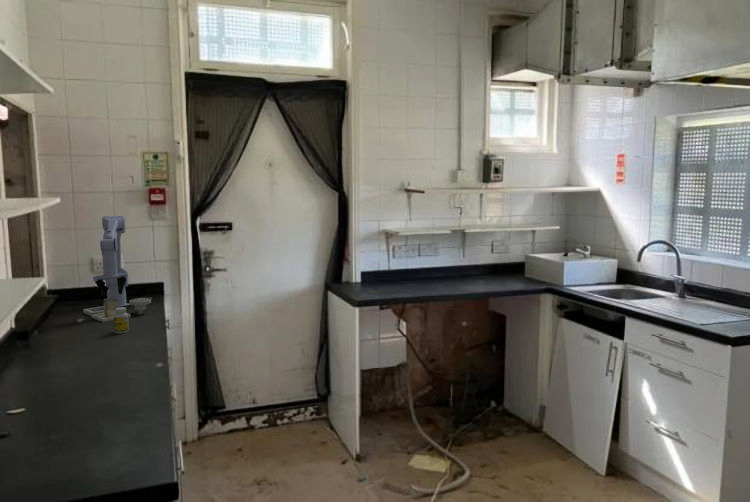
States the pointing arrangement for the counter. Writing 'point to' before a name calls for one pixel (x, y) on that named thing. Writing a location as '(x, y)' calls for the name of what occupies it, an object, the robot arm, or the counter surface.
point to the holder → (93, 310)
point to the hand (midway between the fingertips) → (111, 294)
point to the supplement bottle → (121, 320)
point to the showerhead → (140, 304)
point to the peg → (110, 307)
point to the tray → (102, 317)
